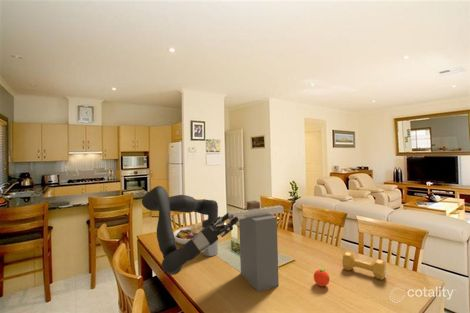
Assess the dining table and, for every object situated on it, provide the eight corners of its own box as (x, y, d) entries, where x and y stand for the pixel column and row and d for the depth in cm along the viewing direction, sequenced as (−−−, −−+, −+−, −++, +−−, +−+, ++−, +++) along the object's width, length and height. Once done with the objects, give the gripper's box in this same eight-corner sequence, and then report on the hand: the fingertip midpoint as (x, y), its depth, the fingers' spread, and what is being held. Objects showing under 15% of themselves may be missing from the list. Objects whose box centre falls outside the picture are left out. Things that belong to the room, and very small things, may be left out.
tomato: (317, 278, 117) (317, 264, 117) (332, 283, 113) (332, 268, 113) (311, 286, 111) (311, 270, 111) (326, 291, 107) (326, 275, 106)
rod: (228, 219, 111) (228, 212, 111) (280, 211, 122) (279, 205, 122) (231, 220, 108) (230, 214, 108) (283, 212, 119) (283, 206, 119)
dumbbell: (387, 275, 118) (386, 259, 118) (383, 283, 111) (383, 266, 111) (346, 264, 131) (346, 249, 131) (340, 270, 124) (340, 255, 124)
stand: (240, 273, 124) (238, 211, 123) (259, 268, 128) (257, 209, 128) (257, 292, 107) (255, 220, 107) (278, 285, 112) (276, 217, 111)
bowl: (169, 236, 184) (169, 225, 184) (206, 229, 197) (206, 220, 197) (177, 250, 157) (176, 238, 157) (220, 241, 170) (219, 230, 170)
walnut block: (246, 211, 124) (246, 201, 124) (255, 210, 126) (255, 200, 126) (251, 213, 119) (250, 203, 119) (260, 212, 121) (259, 202, 121)
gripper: (205, 237, 98) (236, 212, 103) (196, 227, 111) (224, 206, 116) (214, 251, 99) (244, 226, 104) (204, 240, 112) (231, 218, 118)
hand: (233, 215), depth 110 cm, fingers open, 8 cm apart
